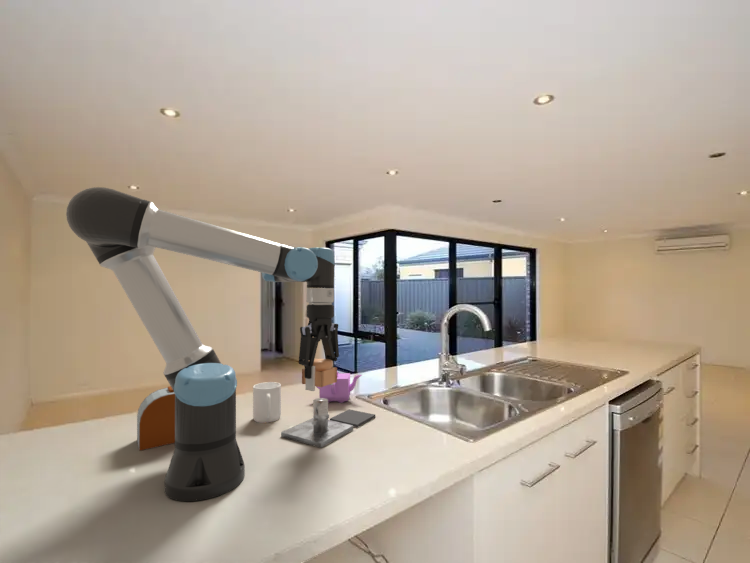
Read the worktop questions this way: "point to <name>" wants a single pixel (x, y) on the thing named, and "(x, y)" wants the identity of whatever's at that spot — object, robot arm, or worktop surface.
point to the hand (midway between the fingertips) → (319, 386)
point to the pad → (353, 417)
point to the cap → (322, 372)
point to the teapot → (338, 388)
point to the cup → (266, 402)
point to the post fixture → (318, 427)
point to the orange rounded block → (156, 419)
